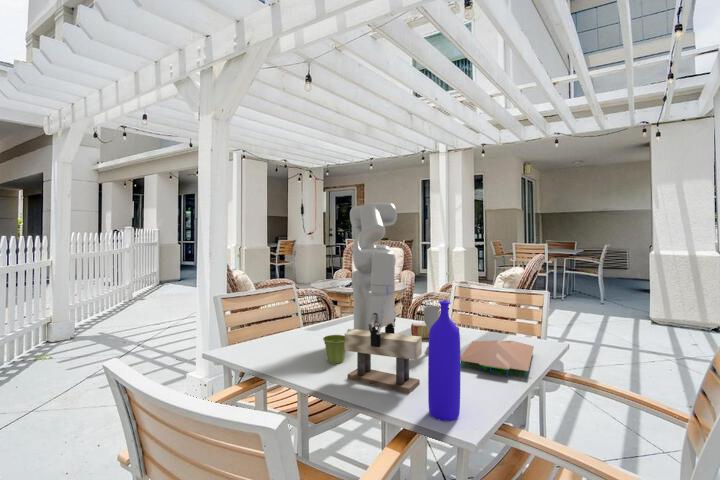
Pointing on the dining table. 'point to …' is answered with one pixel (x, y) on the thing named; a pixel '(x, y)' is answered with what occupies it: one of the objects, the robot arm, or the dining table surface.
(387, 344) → the shelf board
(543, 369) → the dining table surface
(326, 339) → the plant pot
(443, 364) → the bottle
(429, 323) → the chalice
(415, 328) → the snack package
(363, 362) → the peg stand
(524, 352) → the house
